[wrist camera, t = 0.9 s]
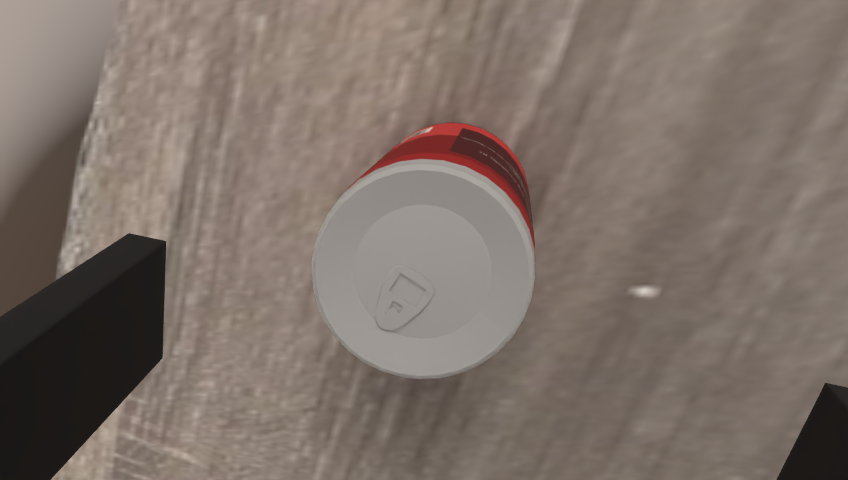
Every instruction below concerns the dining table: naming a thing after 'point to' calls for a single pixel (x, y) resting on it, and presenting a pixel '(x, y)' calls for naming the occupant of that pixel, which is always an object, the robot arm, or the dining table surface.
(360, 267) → the canned food
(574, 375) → the dining table surface
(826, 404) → the robot arm
